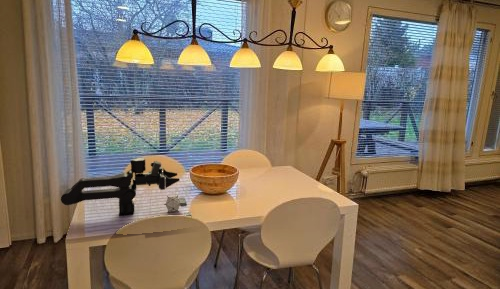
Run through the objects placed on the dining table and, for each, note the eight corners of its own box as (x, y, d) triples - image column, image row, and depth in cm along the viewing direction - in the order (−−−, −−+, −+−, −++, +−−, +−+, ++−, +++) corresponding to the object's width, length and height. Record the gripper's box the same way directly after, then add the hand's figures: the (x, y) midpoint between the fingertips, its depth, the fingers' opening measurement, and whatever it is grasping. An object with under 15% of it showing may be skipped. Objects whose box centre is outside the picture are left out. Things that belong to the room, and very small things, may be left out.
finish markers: (185, 218, 159) (184, 215, 159) (178, 200, 182) (178, 197, 182) (191, 218, 160) (191, 215, 160) (184, 199, 183) (184, 197, 183)
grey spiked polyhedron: (169, 218, 168) (157, 202, 168) (182, 208, 173) (171, 192, 173) (174, 216, 160) (162, 198, 160) (188, 205, 165) (176, 189, 165)
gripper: (146, 168, 154) (180, 166, 158) (145, 158, 171) (176, 156, 176) (146, 191, 156) (180, 188, 161) (145, 179, 173) (176, 177, 178)
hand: (178, 176), depth 169 cm, fingers open, 9 cm apart
